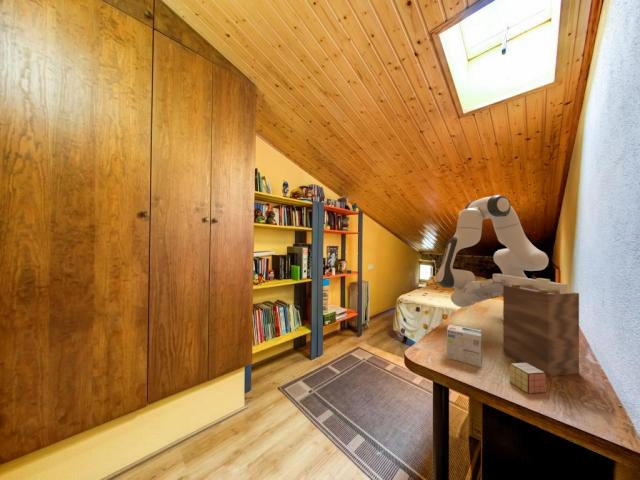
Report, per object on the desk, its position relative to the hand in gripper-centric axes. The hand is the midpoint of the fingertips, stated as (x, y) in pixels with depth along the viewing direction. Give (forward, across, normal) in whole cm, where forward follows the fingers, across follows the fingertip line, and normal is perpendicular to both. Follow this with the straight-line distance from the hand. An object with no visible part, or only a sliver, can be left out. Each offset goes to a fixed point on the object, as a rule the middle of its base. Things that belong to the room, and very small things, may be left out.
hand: (502, 280), depth 94 cm
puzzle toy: (+8, -18, +36) cm, 41 cm away
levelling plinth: (-2, 0, +30) cm, 30 cm away
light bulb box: (-7, -24, +27) cm, 37 cm away
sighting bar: (+7, 0, +5) cm, 9 cm away
